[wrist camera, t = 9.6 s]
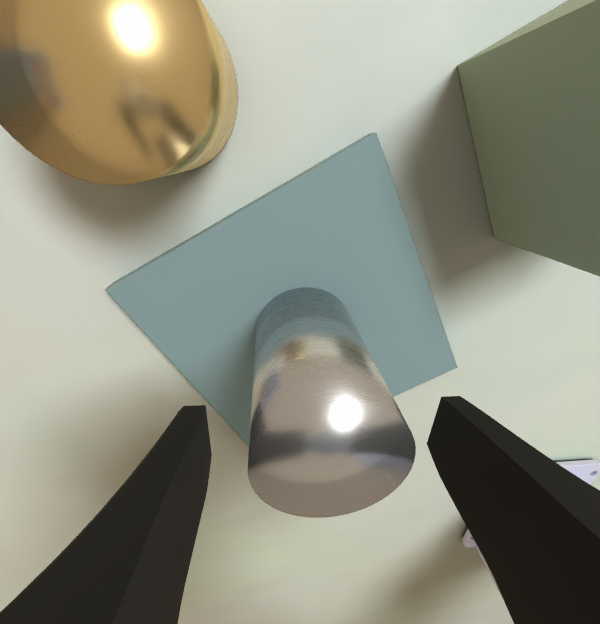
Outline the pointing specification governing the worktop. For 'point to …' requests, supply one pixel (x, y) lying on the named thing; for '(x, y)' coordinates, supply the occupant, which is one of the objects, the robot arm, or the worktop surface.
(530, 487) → the robot arm
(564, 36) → the block
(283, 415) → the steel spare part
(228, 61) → the cylinder
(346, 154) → the parts mat
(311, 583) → the worktop surface
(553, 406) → the worktop surface
